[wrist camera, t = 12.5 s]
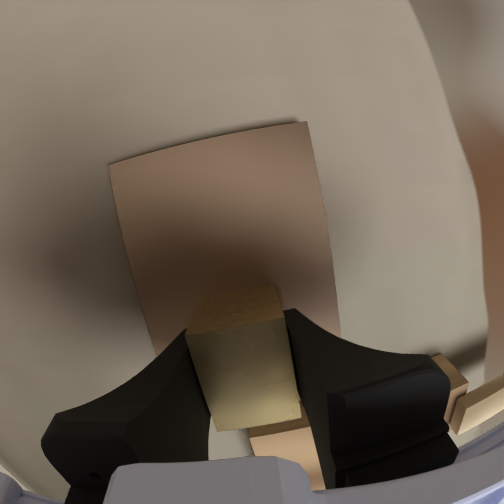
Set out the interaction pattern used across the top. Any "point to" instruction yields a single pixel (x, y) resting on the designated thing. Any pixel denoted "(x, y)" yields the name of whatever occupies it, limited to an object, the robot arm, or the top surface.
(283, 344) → the lid
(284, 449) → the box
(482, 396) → the beige wooden plank
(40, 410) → the top surface
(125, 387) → the robot arm
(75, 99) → the top surface
